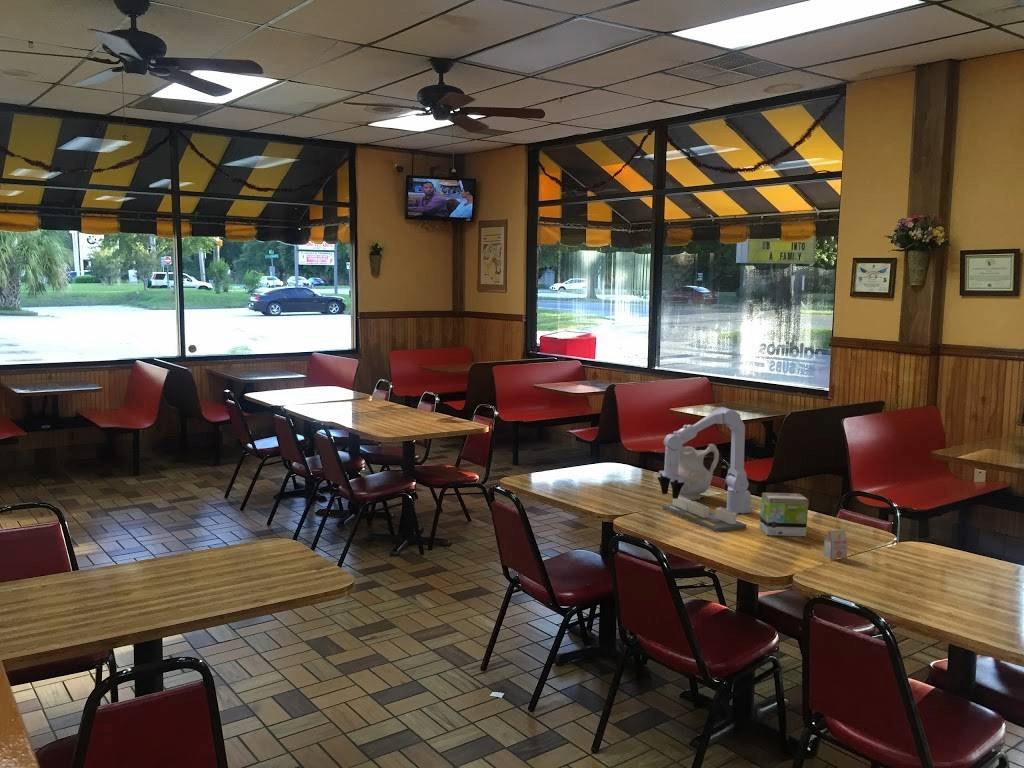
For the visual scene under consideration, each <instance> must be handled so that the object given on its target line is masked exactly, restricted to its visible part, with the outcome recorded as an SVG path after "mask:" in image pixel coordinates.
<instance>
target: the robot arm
mask: <svg viewBox="0 0 1024 768" xmlns="http://www.w3.org/2000/svg"><path fill="white" fill-rule="evenodd" d="M714 424H718V425H720V424H721V425H726V427H728V428H729V429H730V431H731V433H730V434H731V436H730V437H731V438H730V439H731V441H730V443H731V444H730V467H729V468H728V470H727V475H726V476H725V484H726V485H727V491H726V493H727V494H726V495H727V496H726V507H725V509H727V510H730V511H732V512H733V513H736V514H737V515H739V513H741V514H749V513H752V512H753V511H752V510H751V509H752V508H751V507H752V494H751V492H750V491H749V490H748V488H749V480H748V477H747V472H746V470H745V444H746V443H745V440H746V437H745V436H746V425H745V423H744V422H743V420H742V418H741V414H740V413H739V412H737V411H736V410H734V409H729V408H728V407H725V406H721V407H719V408H717V409H715V410H713V411H712V412H711V413H709V414H708V415H706V416H705V417H703V418H702V419H700V420H699V421H697V422H696V423H694V424H684V425H683V426H682V428H680V429H678V430H675V431H672V432H673V433H669V434H667V435H666V436H665V437H664V440H663V441H662V444H664V447H665V451H664V466H663V467H664V470H658V473H659V474H658V475H659V476H658V477H657V480H658V482H659V485H660V490H661V492H662V493H661V494H662V495H668V492H669V487H670V485H669V483H671V486H672V489H671V490H672V492H671V493H672V494H671V495H672V500H673V499H677V498H678V496H679V493H680V490H681V488H682V487H683V485H684V482H683V477H681V476H680V475H679V474H678V469H679V449H680V448H681V446H682V445H684V444H686V443H687V442H688V441H690V440H692V439H694V438H696V437H697V434H698V433H699V432H700V431H702V430H704V429H707V428H708V427H710V426H712V425H714ZM671 479H672V480H675V481H672V482H670V480H671Z"/></svg>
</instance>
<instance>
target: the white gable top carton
mask: <svg viewBox="0 0 1024 768" xmlns="http://www.w3.org/2000/svg"><path fill="white" fill-rule="evenodd" d="M846 533H847V532H846V529H843V528H842V529H830V530H827V534H826V536H825V538H824V541H823V553H822V555H823V556H825V557H827V558H829V559H837V558H844V557H847V555H848V544H849V543H848V542H849V541H848V538H847V534H846ZM823 556H822V557H823ZM847 558H848V557H847Z"/></svg>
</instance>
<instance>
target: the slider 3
mask: <svg viewBox="0 0 1024 768" xmlns="http://www.w3.org/2000/svg"><path fill="white" fill-rule="evenodd" d="M725 508H726V507H725ZM725 508H724V507H722V506H719V507H715V511H714V512H715V518H717V519H719V520H722V521H724V522H726V523H729V524H736V521H737V518H738V517H737V515H738V514H736V513H733V512H732V511H730V510H727V509H725Z"/></svg>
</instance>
